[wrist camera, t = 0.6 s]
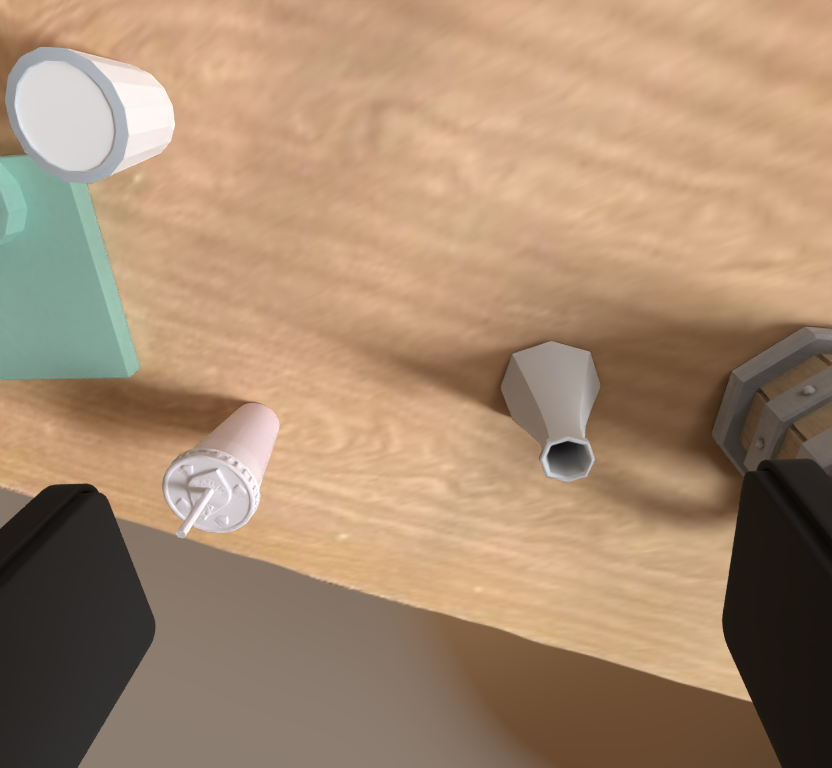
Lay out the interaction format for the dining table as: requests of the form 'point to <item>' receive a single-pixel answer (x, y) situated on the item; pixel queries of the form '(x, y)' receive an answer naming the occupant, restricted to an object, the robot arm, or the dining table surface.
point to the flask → (554, 404)
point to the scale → (56, 282)
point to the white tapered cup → (86, 113)
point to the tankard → (780, 404)
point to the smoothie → (223, 472)
